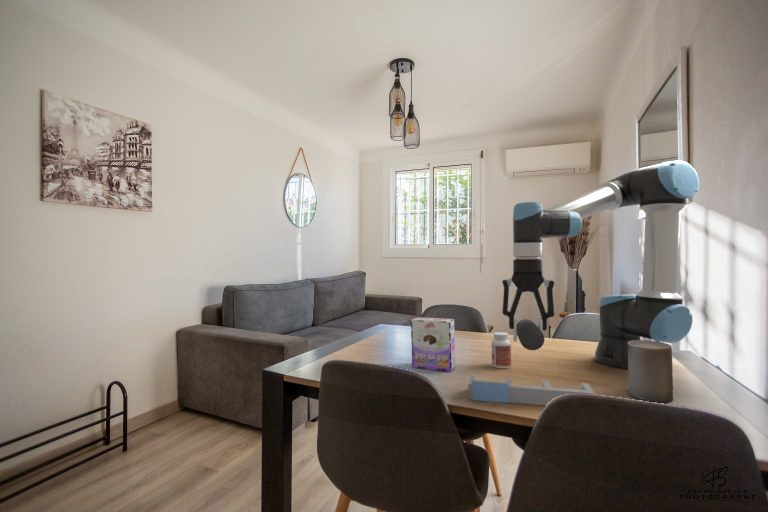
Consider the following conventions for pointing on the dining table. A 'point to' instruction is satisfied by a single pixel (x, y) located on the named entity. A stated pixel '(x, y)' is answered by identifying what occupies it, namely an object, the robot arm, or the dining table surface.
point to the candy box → (433, 343)
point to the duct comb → (518, 392)
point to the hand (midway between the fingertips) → (527, 341)
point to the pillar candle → (650, 370)
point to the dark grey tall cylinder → (529, 335)
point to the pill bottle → (501, 350)
